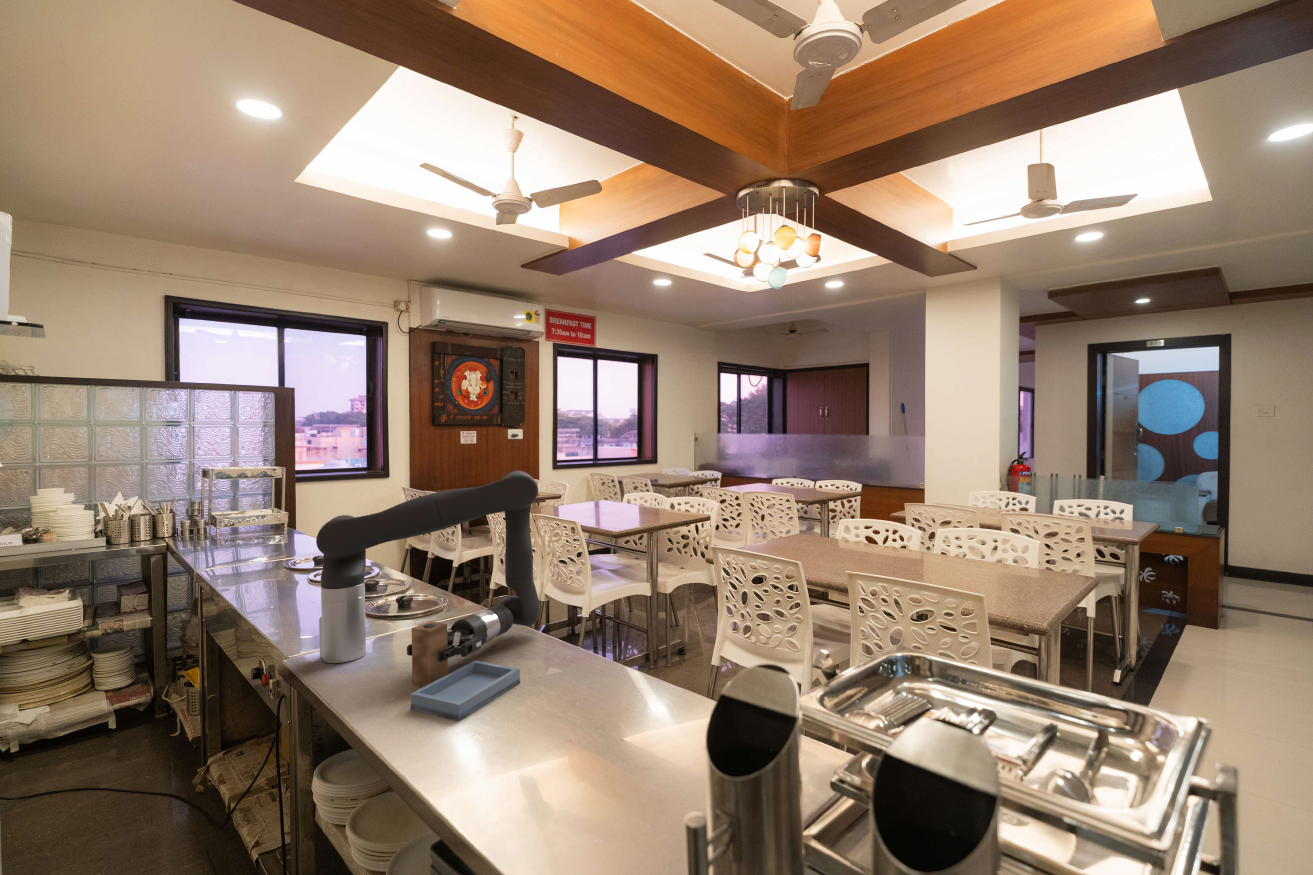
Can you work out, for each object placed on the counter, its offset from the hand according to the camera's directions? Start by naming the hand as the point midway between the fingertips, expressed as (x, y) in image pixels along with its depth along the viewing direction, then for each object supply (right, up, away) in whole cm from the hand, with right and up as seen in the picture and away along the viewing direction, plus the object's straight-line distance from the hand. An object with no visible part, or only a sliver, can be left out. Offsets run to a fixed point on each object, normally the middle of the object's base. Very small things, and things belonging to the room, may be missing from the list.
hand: (423, 653), depth 127 cm
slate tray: (+11, -7, -5) cm, 14 cm away
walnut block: (+1, -7, +2) cm, 7 cm away
